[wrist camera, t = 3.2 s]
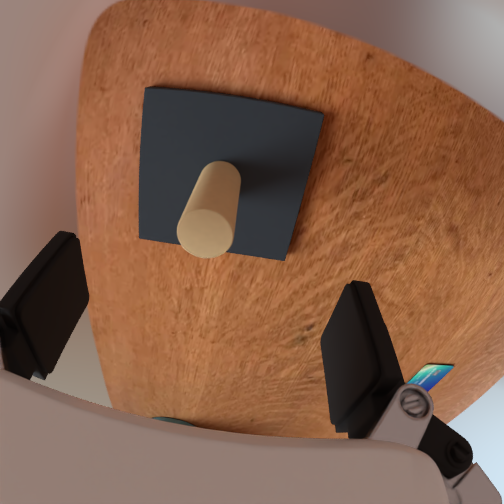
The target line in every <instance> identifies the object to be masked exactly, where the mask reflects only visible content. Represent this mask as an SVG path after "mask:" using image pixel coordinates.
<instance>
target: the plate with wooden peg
mask: <svg viewBox="0 0 504 504" xmlns="http://www.w3.org/2000/svg"><path fill="white" fill-rule="evenodd" d="M323 118H324V114H323V113H322V112H318V111H314V110H310V109H306V108H301V107H297V106H292V105H288V104H283V103H278V102H273V101H267V100H262V99H256V98H250V97H244V96H238V95H231V94H224V93H216V92H208V91H199V90H190V89H179V88H166V87H146V88H145V93H144V103H143V115H142V128H141V144H140V167H139V238H140V239H147V240H153V241H159V242H166V243H172V244H178V245H182V247H183V248H184V249H185V250H186V251H188V252H189V253H191V254H192V255H194V256H197V257H201V258H214V257H218V256H220V255H222V254H224V253H225V252H230V253H236V254H242V255H249V256H255V257H262V258H268V259H275V260H281V261H285V258H286V255H287V251H288V248H289V245H290V241H291V238H292V234H293V231H294V227H295V223H296V220H297V216H298V213H299V209H300V206H301V202H302V198H303V195H304V191H305V187H306V184H307V180H308V176H309V172H310V169H311V165H312V161H313V157H314V154H315V150H316V146H317V142H318V138H319V134H320V130H321V126H322V122H323Z"/></svg>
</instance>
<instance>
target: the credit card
mask: <svg viewBox="0 0 504 504" xmlns="http://www.w3.org/2000/svg"><path fill="white" fill-rule="evenodd" d="M452 368H453V366H451V365H432V364H427V365H425V366H424V367H423V368H422V369H421V370H420V371H419V372H418V373H417V374H416V375H415V376H414V377H413V378H412V379H411V380H410V381H409V382H408V383H407V384H409V383H412V384H417V385H419V386H421V387H423V388H424V389H425V390H426V391H427V392H428V391H429V390H430V389H431V388H432V387H433V386H435V385H436V384H437V383H438V382H439V381H440V380H441V379H442V378H443V377H444V376H445V375H446V374H447V373H448V372H449V371H450V370H451V369H452Z"/></svg>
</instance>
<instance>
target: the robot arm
mask: <svg viewBox="0 0 504 504" xmlns="http://www.w3.org/2000/svg"><path fill="white" fill-rule="evenodd" d="M88 302H89V292H88V287H87V282H86V276H85V271H84V265H83V259H82V253H81V246H80V241H79V239H78V238H76V235H75V234H74V233H70V232H65V231H59V232H58V233H57V234H56V235H55V236H54V237H53V238H52V239H51V240H50V241H49V243H48V244H47V245H46V246H45V247H44V248H43V249H42V250H41V252H40V253H39V254H38V255H37V256H36V257H35V259H34V260H33V261H32V262H31V263H30V264H29V266H28V267H27V268H26V269H25V270H24V272H23V273H22V274H21V275H20V277H19V278H18V279H17V280H16V282H15V283H14V284H13V285H12V287H11V288H10V289H9V290H8V292H7V293H6V294H5V296H4V297H3V298H2V300H1V301H0V504H502V499H501V496H500V494H499V492H498V491H497V489H496V488H495V486H494V485H493V484H492V482H491V481H490V480H489V478H488V477H487V476H486V474H485V473H484V472H483V470H482V469H481V467H480V466H479V465H478V464H477V462H476V463H475V464H473V463H472V459H473V452H472V448H471V446H470V444H469V443H468V441H466V439H465V438H463V437H462V436H461V435H459V434H458V433H457V432H455V431H454V430H453V429H451V428H450V427H449V426H447V425H446V424H445V423H444V422H442V421H441V420H440V419H438V418H437V417H436V416H434V415H433V410H434V405H433V401H432V398H431V396H430V395H429V393H428V392H427V391H426V390H425V389H424V388H423V387H421V386H419V385H417V384H412V383H409V384H405V382H404V379H403V376H402V373H401V369H400V366H399V363H398V360H397V357H396V354H395V350H394V347H393V344H392V341H391V338H390V336H389V333H388V330H387V327H386V325H385V323H384V321H383V318H382V315H381V313H380V310H379V307H378V304H377V302H376V299H375V296H374V294H373V291H372V288H371V286H370V284H369V283H368V282H362V281H356V280H353V281H352V282H351V283H350V284H346V285H345V287H344V290H343V292H342V294H341V296H340V298H339V300H338V303H337V305H336V307H335V309H334V311H333V313H332V315H331V317H330V319H329V322H328V324H327V326H326V328H325V330H324V332H323V334H322V336H321V351H322V358H323V365H324V372H325V380H326V388H327V396H328V404H329V412H330V420H331V423H332V424H333V425H335V428H336V433H343V432H348V438H349V439H320V438H294V437H276V436H263V435H252V434H242V433H233V432H225V431H218V430H211V429H204V428H198V427H192V426H187V425H181V424H176V423H171V422H166V421H161V420H156V419H152V418H148V417H143V416H139V415H135V414H131V413H127V412H123V411H120V410H116V409H112V408H109V407H105V406H102V405H99V404H95V403H92V402H89V401H86V400H82V399H79V398H77V397H74V396H71V395H68V394H65V393H62V392H59V391H57V390H54V389H51V388H49V387H46V386H43V385H41V384H38V383H35V382H33V381H30V379H31V377H32V375H33V376H35V377H38V378H40V379H43V380H45V379H46V377H47V375H48V373H49V374H50V373H52V371H53V370H54V368H55V365H56V363H57V361H58V359H59V357H60V355H61V353H62V351H63V349H64V347H65V345H66V343H67V341H68V340H69V338H70V336H71V334H72V332H73V330H74V328H75V326H76V324H77V322H78V320H79V319H80V317H81V315H82V313H83V312H84V310H85V308H86V306H87V304H88Z"/></svg>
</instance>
